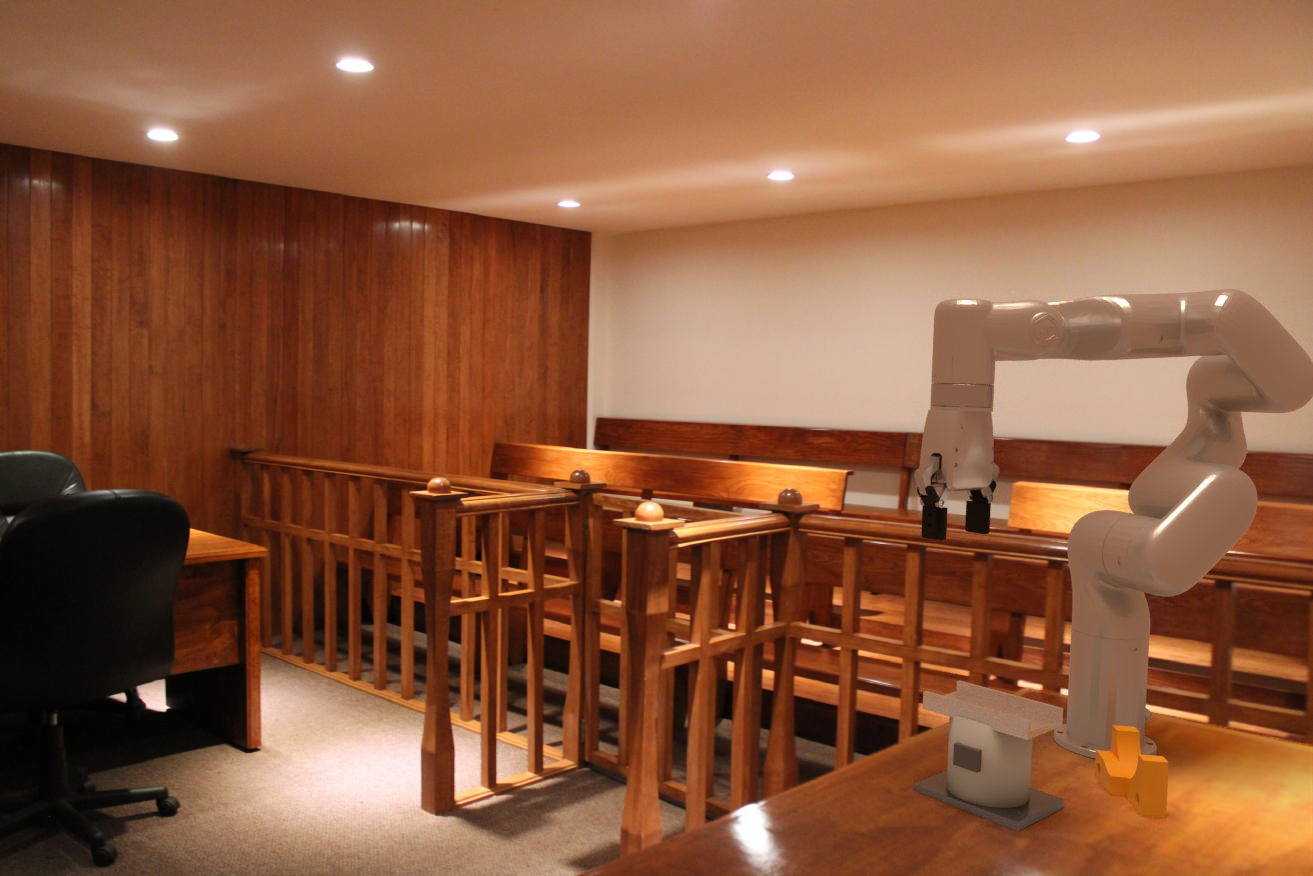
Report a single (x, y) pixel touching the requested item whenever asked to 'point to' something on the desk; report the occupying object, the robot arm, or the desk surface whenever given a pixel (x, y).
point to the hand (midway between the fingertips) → (955, 535)
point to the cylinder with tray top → (992, 754)
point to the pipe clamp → (1133, 773)
